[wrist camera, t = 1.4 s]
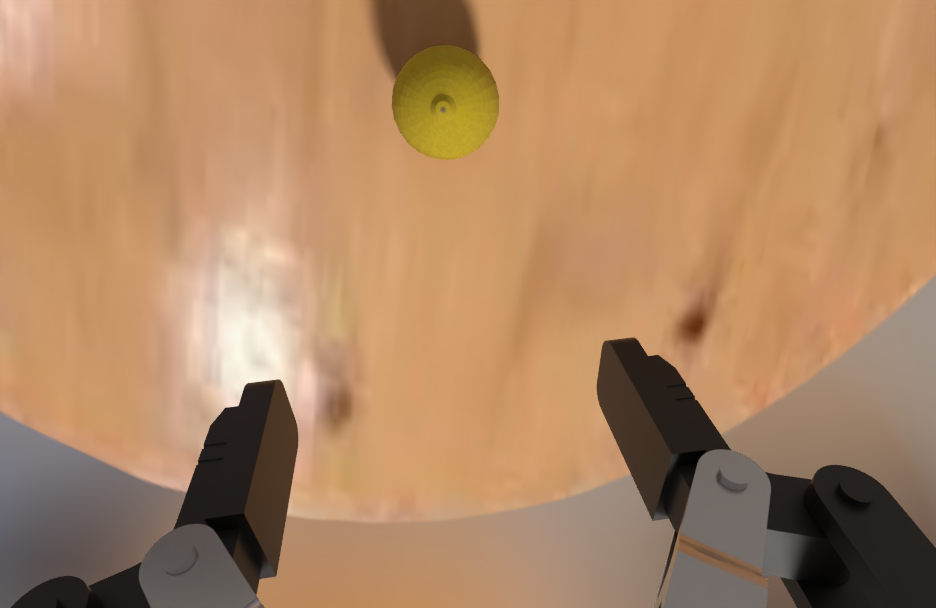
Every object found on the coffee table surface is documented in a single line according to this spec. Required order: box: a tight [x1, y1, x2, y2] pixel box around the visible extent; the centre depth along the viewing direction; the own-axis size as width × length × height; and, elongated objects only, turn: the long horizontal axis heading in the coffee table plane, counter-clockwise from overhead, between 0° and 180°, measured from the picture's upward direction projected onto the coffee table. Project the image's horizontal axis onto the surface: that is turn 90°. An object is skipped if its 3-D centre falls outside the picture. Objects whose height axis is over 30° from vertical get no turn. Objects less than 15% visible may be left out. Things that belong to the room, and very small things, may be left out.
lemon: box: [392, 45, 499, 160], centre depth 27 cm, size 6×6×8 cm
